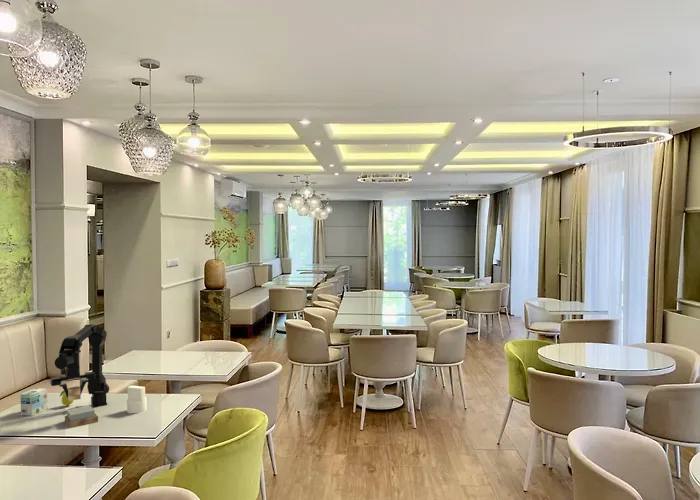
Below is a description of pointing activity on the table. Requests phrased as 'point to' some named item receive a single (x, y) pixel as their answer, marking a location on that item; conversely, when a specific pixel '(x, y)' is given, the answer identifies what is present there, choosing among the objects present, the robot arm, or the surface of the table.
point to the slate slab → (80, 413)
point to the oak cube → (74, 393)
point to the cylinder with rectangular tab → (136, 399)
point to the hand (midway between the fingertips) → (73, 396)
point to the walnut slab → (81, 421)
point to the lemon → (65, 399)
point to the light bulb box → (34, 401)
